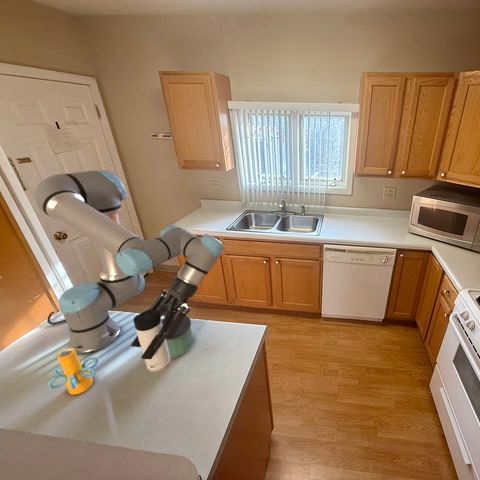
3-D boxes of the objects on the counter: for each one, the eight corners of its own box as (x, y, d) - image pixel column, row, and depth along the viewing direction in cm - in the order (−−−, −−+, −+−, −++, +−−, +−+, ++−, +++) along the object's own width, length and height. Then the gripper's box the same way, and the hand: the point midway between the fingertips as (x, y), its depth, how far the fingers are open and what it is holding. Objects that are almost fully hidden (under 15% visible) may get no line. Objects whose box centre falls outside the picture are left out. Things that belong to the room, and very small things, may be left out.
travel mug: (155, 377, 75) (140, 325, 67) (143, 366, 78) (127, 315, 70) (175, 362, 80) (164, 312, 72) (163, 353, 83) (151, 304, 75)
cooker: (153, 345, 100) (148, 326, 97) (186, 330, 109) (183, 312, 105) (162, 364, 92) (157, 345, 89) (197, 347, 101) (194, 328, 97)
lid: (147, 327, 97) (141, 308, 93) (184, 312, 106) (180, 294, 102) (156, 348, 88) (151, 327, 85) (196, 330, 97) (193, 310, 93)
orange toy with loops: (112, 372, 89) (99, 340, 83) (88, 401, 79) (72, 367, 73) (75, 372, 88) (60, 339, 82) (46, 401, 78) (27, 366, 72)
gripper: (214, 296, 77) (168, 370, 71) (181, 274, 87) (139, 337, 81) (195, 289, 71) (143, 370, 65) (162, 266, 81) (114, 334, 75)
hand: (140, 352), depth 73 cm, fingers closed on travel mug, 6 cm apart
